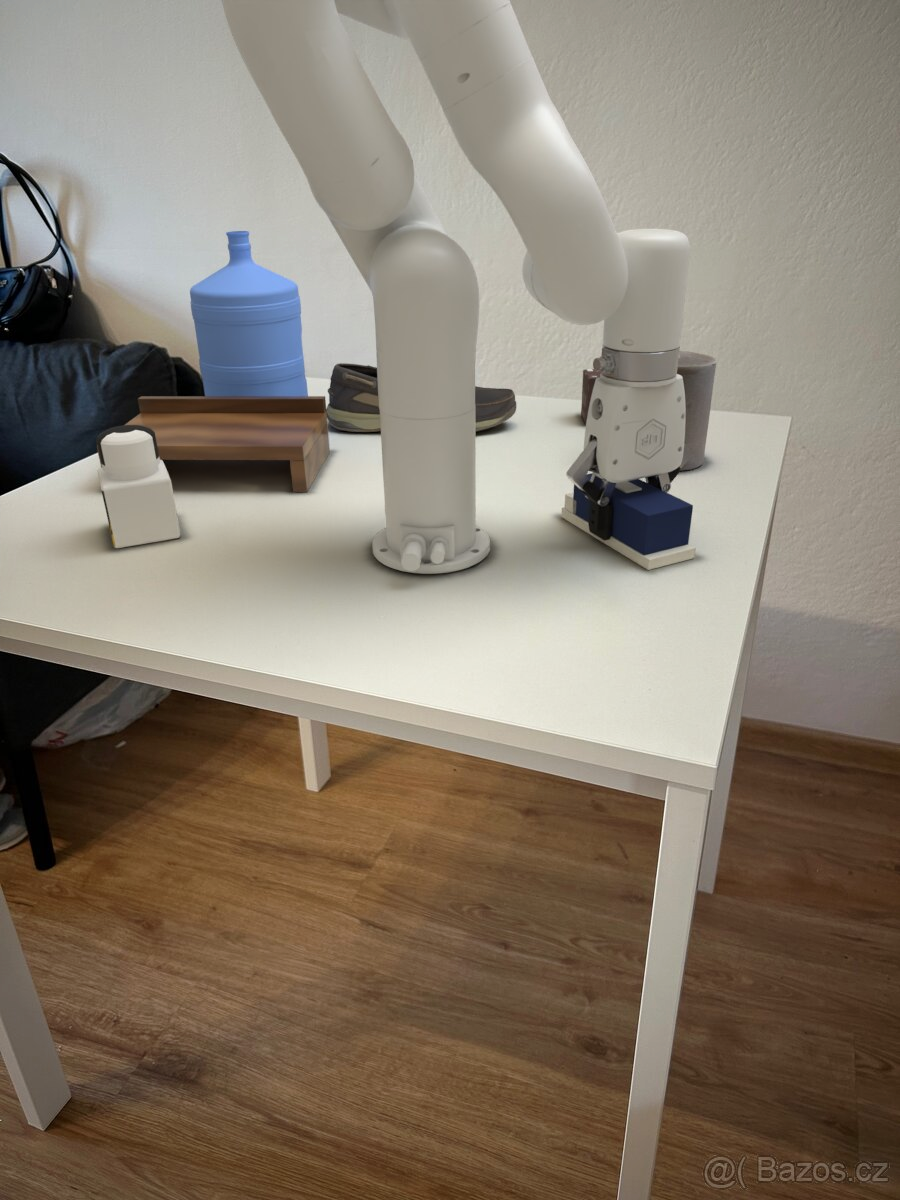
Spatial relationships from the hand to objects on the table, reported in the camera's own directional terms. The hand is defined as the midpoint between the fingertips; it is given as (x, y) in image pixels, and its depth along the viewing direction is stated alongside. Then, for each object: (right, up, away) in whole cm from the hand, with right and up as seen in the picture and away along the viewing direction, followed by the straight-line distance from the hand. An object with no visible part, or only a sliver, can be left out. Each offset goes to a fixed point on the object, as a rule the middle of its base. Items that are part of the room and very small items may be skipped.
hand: (625, 528), depth 94 cm
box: (+5, +20, +40) cm, 45 cm away
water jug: (-49, +19, +40) cm, 65 cm away
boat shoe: (-24, +19, +38) cm, 49 cm away
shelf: (-50, +10, +22) cm, 55 cm away
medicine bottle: (-54, 0, +4) cm, 54 cm away
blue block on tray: (0, -1, 0) cm, 1 cm away
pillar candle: (+10, +11, +23) cm, 28 cm away
